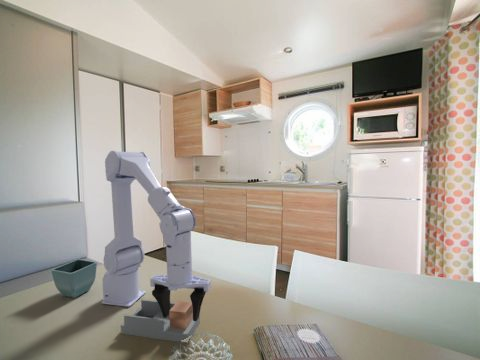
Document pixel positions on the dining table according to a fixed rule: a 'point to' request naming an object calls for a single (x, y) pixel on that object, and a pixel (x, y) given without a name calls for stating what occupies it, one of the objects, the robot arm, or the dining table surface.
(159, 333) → the slate trough
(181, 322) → the terracotta block
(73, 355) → the dining table surface
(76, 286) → the flower pot
